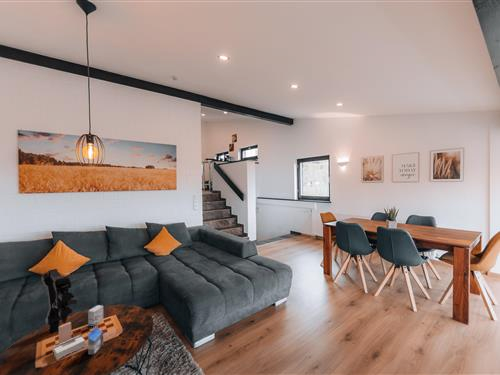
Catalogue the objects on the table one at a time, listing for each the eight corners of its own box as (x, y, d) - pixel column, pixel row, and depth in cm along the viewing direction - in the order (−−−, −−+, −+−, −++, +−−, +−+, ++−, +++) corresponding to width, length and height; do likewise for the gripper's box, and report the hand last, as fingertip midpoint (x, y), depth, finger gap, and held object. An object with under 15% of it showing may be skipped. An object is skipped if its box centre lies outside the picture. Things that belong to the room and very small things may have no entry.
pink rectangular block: (58, 346, 147) (58, 326, 146) (70, 341, 152) (70, 321, 151) (59, 348, 146) (59, 327, 145) (71, 342, 150) (71, 322, 150)
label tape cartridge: (94, 354, 140) (94, 334, 140) (87, 354, 140) (87, 334, 140) (103, 344, 149) (103, 325, 149) (97, 344, 149) (97, 325, 149)
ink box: (93, 328, 165) (93, 311, 165) (88, 327, 166) (87, 310, 166) (103, 321, 174) (103, 305, 173) (98, 320, 175) (97, 304, 174)
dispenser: (52, 353, 141) (52, 346, 141) (80, 340, 152) (80, 334, 152) (57, 360, 136) (56, 352, 136) (85, 346, 147) (85, 339, 147)
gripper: (81, 296, 153) (81, 319, 153) (72, 288, 164) (72, 310, 165) (60, 303, 144) (60, 328, 144) (51, 294, 155) (52, 317, 156)
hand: (62, 320), depth 153 cm, fingers open, 9 cm apart
